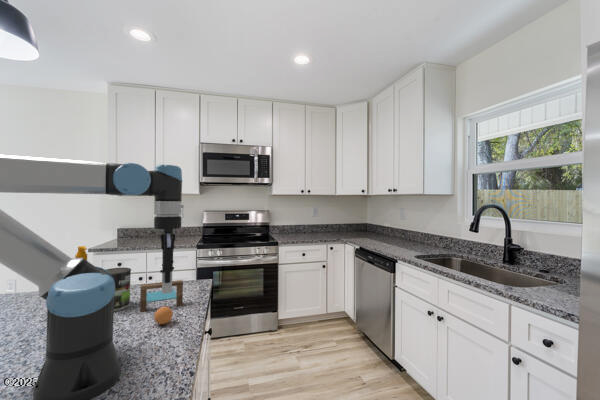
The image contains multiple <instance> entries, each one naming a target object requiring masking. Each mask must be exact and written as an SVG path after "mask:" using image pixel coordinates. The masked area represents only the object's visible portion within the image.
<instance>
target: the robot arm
mask: <svg viewBox="0 0 600 400" xmlns="http://www.w3.org/2000/svg"><path fill="white" fill-rule="evenodd" d="M182 191H183V173H182V168H181V167H180V166H178V165H173V164H156V165H155V167H154V170H147V168H145V166H143V165H141V164H139V163H134V162H126V163H110V162H100V161H89V160H88V161H87V160H73V159H62V158H61V159H60V158H47V157H36V156H34V157H33V156H24V155H23V156H22V155H21V156H20V155H7V154H6V155H5V154H0V193H10V194H11V193H12V194H14V193H15V194H16V193H17V194H21V193H22V194H62V195H64V194H69V195H70V194H71V195H109V196H118V197H123V196H124V197H125V196H129V197H130V196H131V197H132V196H133V197H143V196H144V197H147V196H148V197H154V202H153V203H154V204H153V205H154V206H153V211H154V212H153V214H154V215H155V216H154V217H153V219H154V220H153V228H154V229H155V230H163V234H160V237H159V239H160V242H161V243H160V245H161V246H160V248H161V250H162V253H161V254H162V255H161V256H162V264H161V267H162V268H161V270H160V271H159V273H161V282H162V288H161V291H162V294H164V293H171V292H172V290H173V286H172V281H173V271H174V270H175V267H174V249H175V241H176V234H175V233H173V231H174V229H175V230H177V229H181V228H182V217H181V214H182V209H183V208H184V205H183V204H182V199H183V198H182V196H183V192H182ZM89 262H90V261H88V259H87V260H85V259H84V258H75V257H70V256H69V255H68V254H66V253H64V252H63V251H62V250H60V249H59V248H57V247H56V246H54V245H53V244H52V243H50V242H49V241H47V240H46V239H44V238H43V237H41V236H40V235H38V234H37V233H36V232H34V231H33V230H31V229H30V228H29V227H27V226H25V225H24V224H22V223H21V222H19V221H18V220H17V219H16V218H14V217H12V216H11V215H9V214H8V213H6V212H5V211H4V210H3V209H1V208H0V264H1V265H2V266H4V267H6V268H8V269H10V270H11V271H12V272H15V273H16V274H17V275H19V276H20V277H22V278H24V279H26V281H27V280H28V281H29V282H30V283H31V284H34V285H35V286H37V287H38V296H39V297H40V298H42V299H44V300H45V304H46V308H47V309H46V337H45V338H46V342H45V346H46V347H45V348H46V349H45V350H46V352H45V360H44V363H43V364H42V367H41V370H40V372H39V375H38V378H37V380H36V382H35V384H34V386H33V390H32V391H33V394H32V400H91V399H93V398H95V397H96V396H99V395H100V394H103V392H105V391H107V390H108V389H110V388H111V387H112V386H113V385H114V384H115V383H116V382H117V381H118V379H120V376H121V372H122V360H121V358H120V357H119V354H118V352H117V349H116V346H115V343H114V315H115V314H114V313H115V311H114V294H115V281H114V279H113V277H112V275H111V274H110V273H109V272H108V271H107V270H106V269H105V268H102V267H99V266H95V265H94V264H93V263H91V262H90V263H89Z"/></svg>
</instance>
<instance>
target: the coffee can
mask: <svg viewBox="0 0 600 400" xmlns="http://www.w3.org/2000/svg"><path fill="white" fill-rule="evenodd" d="M105 270H107V271H108V272H109V273H110V274H111V275H112V277H113V279H114V281H115V294H114V312H117V311H122V310H124V309H126V308H129V306H130V305H131V271H132V268H129V267H113V268H106V269H105Z"/></svg>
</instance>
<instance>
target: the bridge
mask: <svg viewBox="0 0 600 400" xmlns="http://www.w3.org/2000/svg"><path fill="white" fill-rule="evenodd" d="M172 287H176V298H175V299H176V300H175V301H176V302H175V304H176V306H177V307H179V306H183V299H184V298H183V296H184V293H183V292H184V281H183V279H180V280H172ZM152 289H162V281H161V282H160V281H159V282H153V283H146V284H145V283H144V284H140V295H139V296H140V297H139V298H140V299H139V301H140V302H139V312H140V313H141V311H142V312H147V302H146V301H147V293H148V290H152Z"/></svg>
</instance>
